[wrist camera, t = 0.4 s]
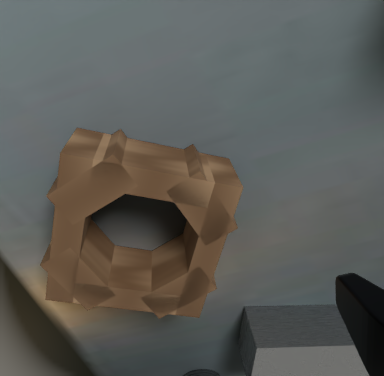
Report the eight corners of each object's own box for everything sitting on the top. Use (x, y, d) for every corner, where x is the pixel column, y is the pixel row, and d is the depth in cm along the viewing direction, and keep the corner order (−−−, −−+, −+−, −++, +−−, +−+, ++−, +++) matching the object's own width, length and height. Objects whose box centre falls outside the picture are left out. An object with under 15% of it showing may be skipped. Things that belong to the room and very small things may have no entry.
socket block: (238, 153, 22) (254, 181, 18) (197, 280, 26) (204, 323, 22) (69, 118, 20) (50, 142, 17) (54, 261, 24) (36, 304, 21)
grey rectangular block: (385, 302, 29) (417, 343, 25) (371, 338, 31) (399, 381, 27) (243, 304, 28) (256, 348, 24) (237, 341, 29) (248, 387, 26)
